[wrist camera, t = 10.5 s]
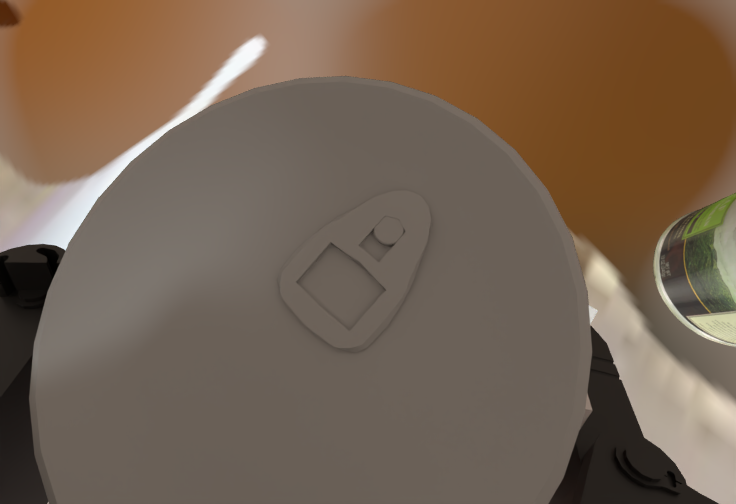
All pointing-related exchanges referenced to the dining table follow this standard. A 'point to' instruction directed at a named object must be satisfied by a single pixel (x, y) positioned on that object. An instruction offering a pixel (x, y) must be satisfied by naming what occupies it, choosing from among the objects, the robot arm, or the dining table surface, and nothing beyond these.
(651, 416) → the dining table surface
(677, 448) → the dining table surface
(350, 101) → the canned food
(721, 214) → the coffee can
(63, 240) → the dining table surface
